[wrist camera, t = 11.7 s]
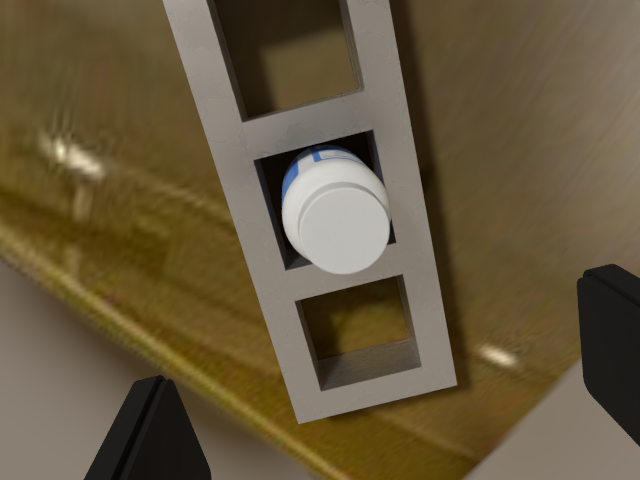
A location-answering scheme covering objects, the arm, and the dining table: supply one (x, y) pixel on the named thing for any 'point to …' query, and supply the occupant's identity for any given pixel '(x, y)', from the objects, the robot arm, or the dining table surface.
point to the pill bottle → (335, 210)
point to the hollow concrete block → (262, 225)
